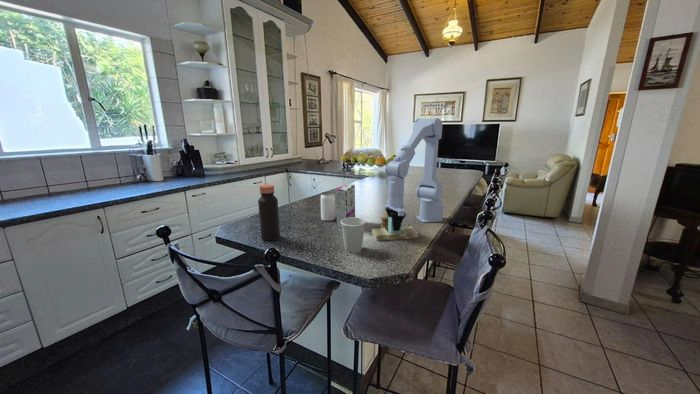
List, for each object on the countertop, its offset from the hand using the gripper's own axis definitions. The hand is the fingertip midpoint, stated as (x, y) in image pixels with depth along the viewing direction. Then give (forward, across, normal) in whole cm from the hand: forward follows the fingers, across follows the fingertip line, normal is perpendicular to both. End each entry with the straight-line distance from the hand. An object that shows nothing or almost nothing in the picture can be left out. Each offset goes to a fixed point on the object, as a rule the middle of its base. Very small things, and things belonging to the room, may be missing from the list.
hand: (394, 228), depth 104 cm
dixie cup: (+3, +9, -18) cm, 20 cm away
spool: (+3, -9, 0) cm, 10 cm away
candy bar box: (+3, -16, -16) cm, 23 cm away
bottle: (+3, -5, -46) cm, 47 cm away
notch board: (+3, 0, 0) cm, 3 cm away
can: (+3, -24, -24) cm, 34 cm away
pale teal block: (+2, 0, 0) cm, 2 cm away
